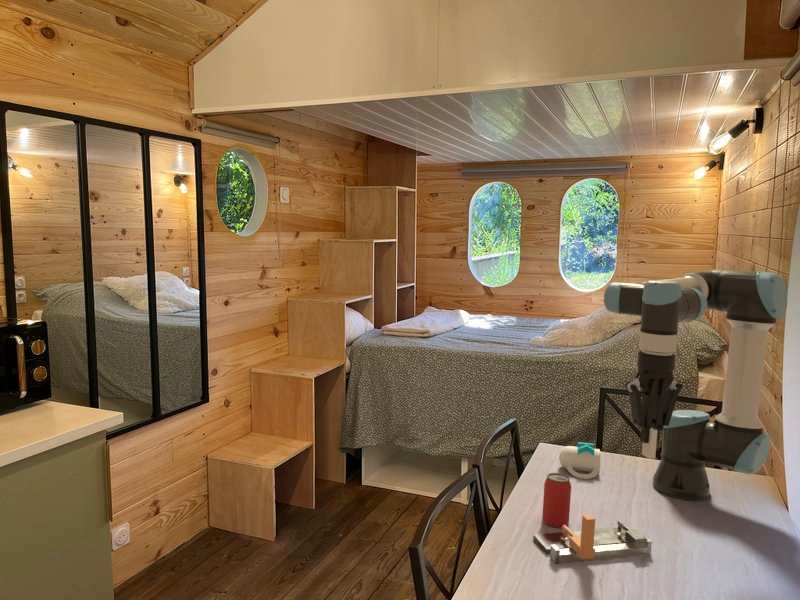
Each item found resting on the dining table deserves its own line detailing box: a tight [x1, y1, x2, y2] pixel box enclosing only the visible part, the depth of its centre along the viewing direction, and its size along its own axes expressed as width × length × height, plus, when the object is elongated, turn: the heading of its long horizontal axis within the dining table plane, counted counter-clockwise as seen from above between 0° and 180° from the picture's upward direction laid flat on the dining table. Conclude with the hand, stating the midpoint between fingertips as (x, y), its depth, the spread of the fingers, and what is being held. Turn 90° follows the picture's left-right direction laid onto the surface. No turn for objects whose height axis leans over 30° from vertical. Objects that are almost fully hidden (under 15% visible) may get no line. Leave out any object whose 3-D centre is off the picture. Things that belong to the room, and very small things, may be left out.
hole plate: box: [532, 526, 627, 555], centre depth 146 cm, size 24×7×1 cm, turn 103°
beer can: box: [541, 472, 572, 528], centre depth 155 cm, size 7×7×12 cm
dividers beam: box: [549, 519, 653, 565], centre depth 142 cm, size 24×9×4 cm, turn 103°
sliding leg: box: [561, 514, 596, 559], centre depth 139 cm, size 3×12×10 cm, turn 13°
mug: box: [558, 441, 601, 480], centre depth 189 cm, size 12×9×12 cm
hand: (648, 456), depth 136 cm, fingers closed
